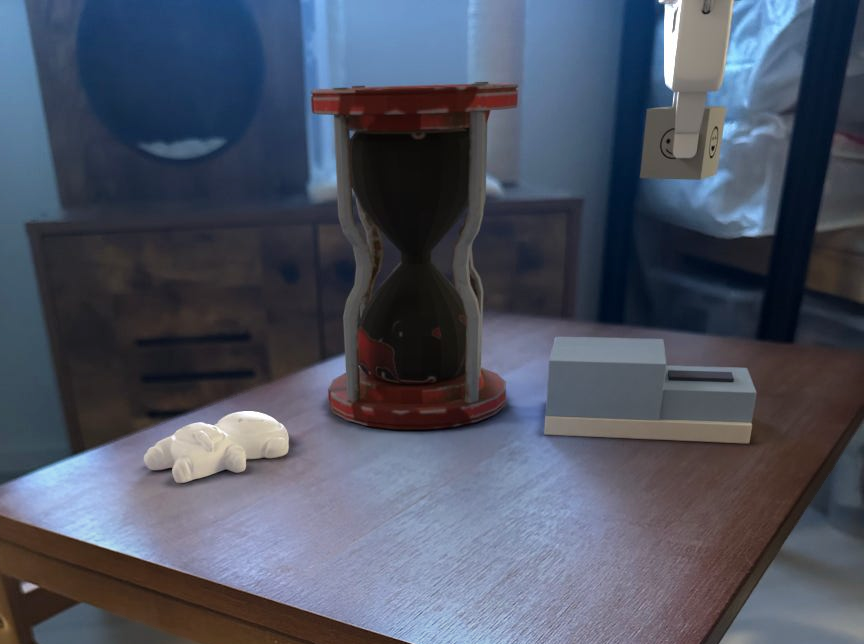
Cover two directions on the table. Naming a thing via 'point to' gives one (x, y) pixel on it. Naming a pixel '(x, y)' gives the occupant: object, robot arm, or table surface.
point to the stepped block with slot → (643, 393)
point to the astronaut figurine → (219, 446)
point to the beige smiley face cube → (661, 139)
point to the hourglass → (413, 251)
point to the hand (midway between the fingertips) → (681, 154)
